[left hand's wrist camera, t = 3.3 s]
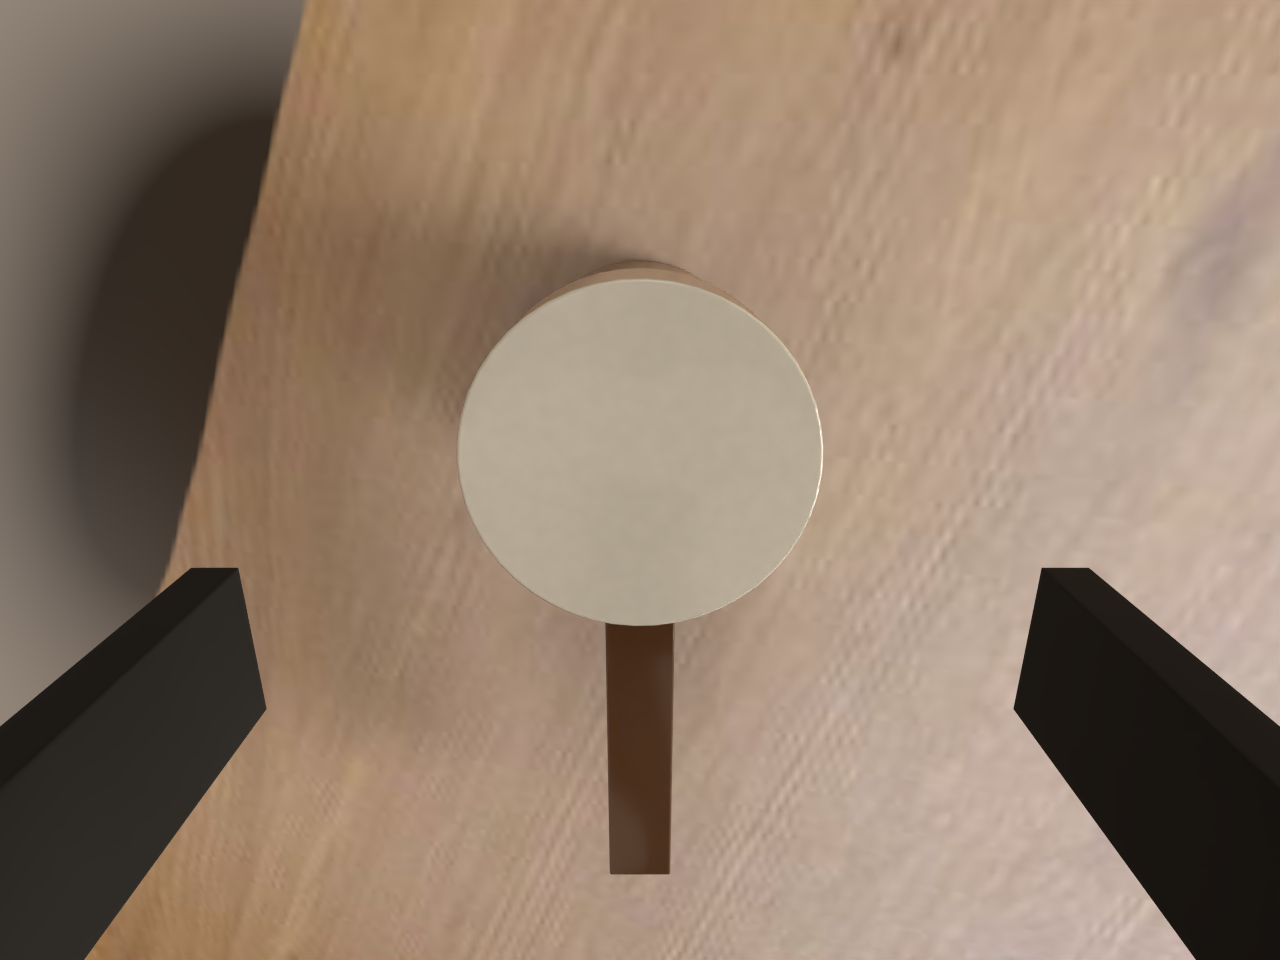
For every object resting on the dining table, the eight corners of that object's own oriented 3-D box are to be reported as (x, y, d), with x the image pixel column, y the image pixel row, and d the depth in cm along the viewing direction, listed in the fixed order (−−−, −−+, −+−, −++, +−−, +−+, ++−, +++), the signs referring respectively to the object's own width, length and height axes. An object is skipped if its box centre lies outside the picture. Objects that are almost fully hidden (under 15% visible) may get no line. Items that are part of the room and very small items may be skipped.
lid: (582, 197, 21) (574, 197, 19) (868, 384, 23) (899, 410, 20) (421, 483, 24) (393, 520, 22) (687, 629, 26) (692, 681, 23)
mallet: (526, 260, 31) (484, 285, 22) (753, 260, 31) (795, 285, 22) (551, 752, 39) (526, 906, 31) (728, 752, 39) (753, 906, 31)
